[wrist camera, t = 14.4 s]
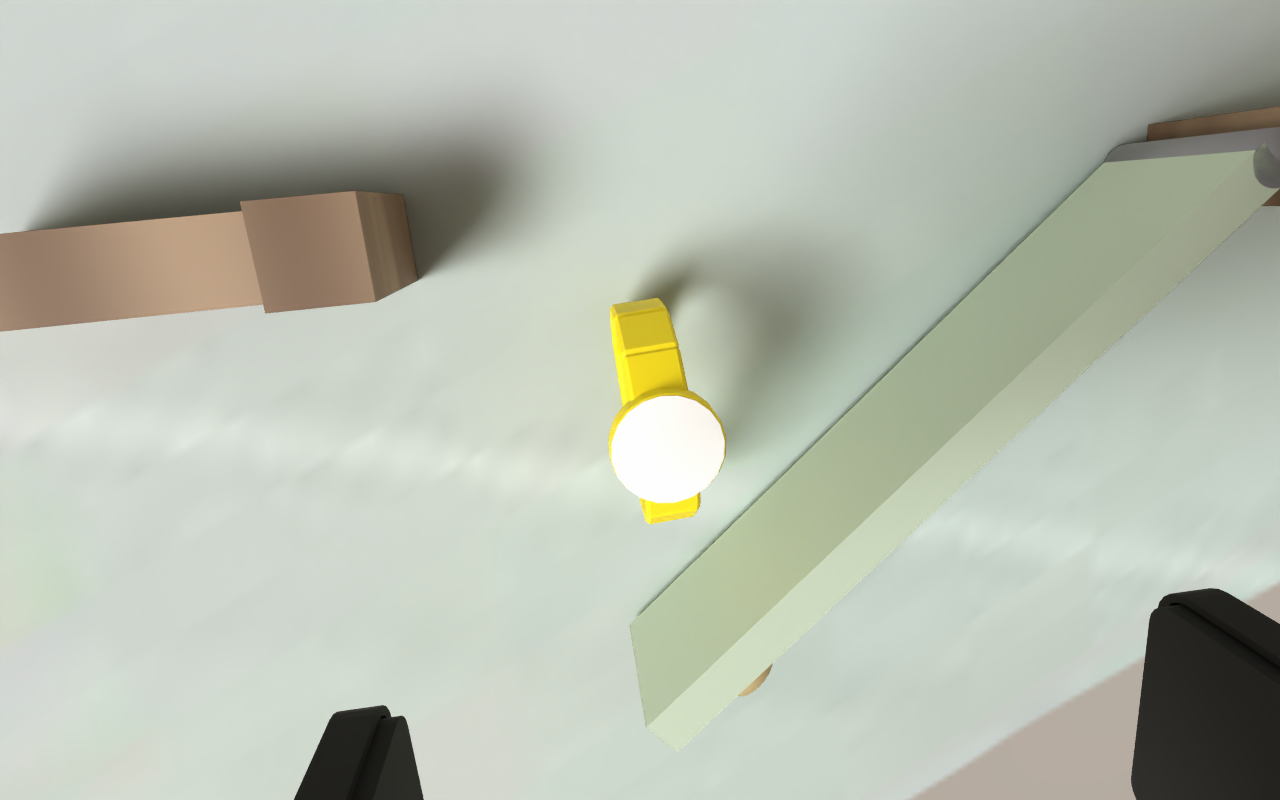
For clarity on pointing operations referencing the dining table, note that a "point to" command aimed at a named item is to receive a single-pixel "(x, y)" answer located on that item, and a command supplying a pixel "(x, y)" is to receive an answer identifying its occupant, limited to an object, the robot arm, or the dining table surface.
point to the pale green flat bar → (943, 415)
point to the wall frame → (270, 253)
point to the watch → (660, 417)
